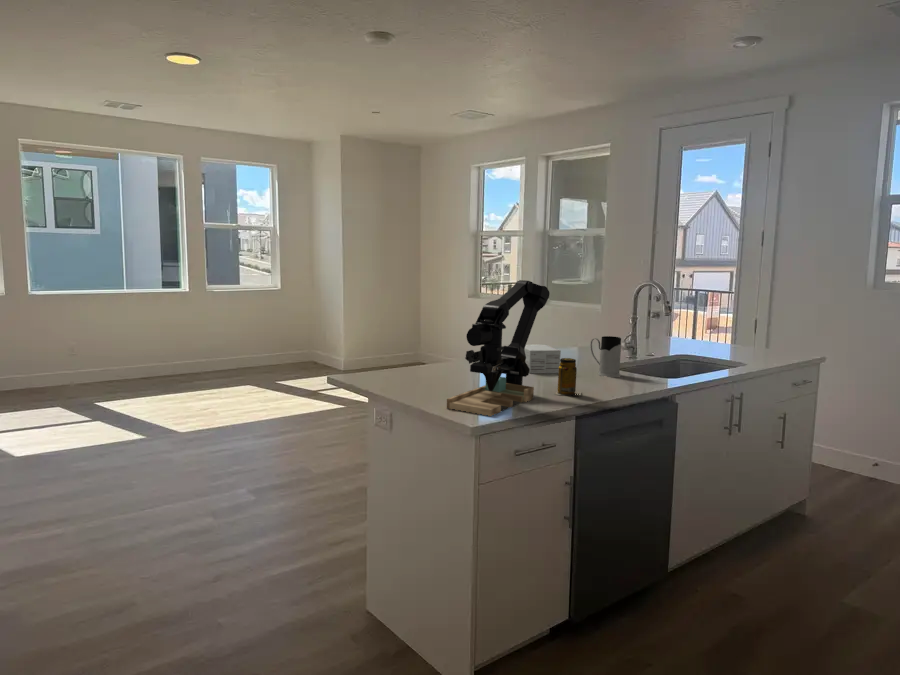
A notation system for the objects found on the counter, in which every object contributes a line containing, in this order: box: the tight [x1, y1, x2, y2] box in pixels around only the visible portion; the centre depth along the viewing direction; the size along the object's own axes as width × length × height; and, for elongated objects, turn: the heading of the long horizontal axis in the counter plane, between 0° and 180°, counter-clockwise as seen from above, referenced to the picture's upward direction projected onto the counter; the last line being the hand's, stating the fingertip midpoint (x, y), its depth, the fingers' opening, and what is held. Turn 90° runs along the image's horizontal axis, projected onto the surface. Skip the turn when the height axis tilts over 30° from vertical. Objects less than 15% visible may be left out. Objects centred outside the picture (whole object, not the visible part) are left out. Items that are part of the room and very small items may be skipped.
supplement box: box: [524, 344, 562, 374], centre depth 261 cm, size 17×13×9 cm
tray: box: [446, 383, 535, 417], centre depth 200 cm, size 28×16×4 cm, turn 149°
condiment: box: [554, 357, 581, 397], centre depth 217 cm, size 7×8×12 cm
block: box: [484, 376, 506, 392], centre depth 211 cm, size 5×5×4 cm
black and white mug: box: [590, 335, 622, 378], centre depth 255 cm, size 9×14×15 cm, turn 39°
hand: (490, 390), depth 207 cm, fingers closed
